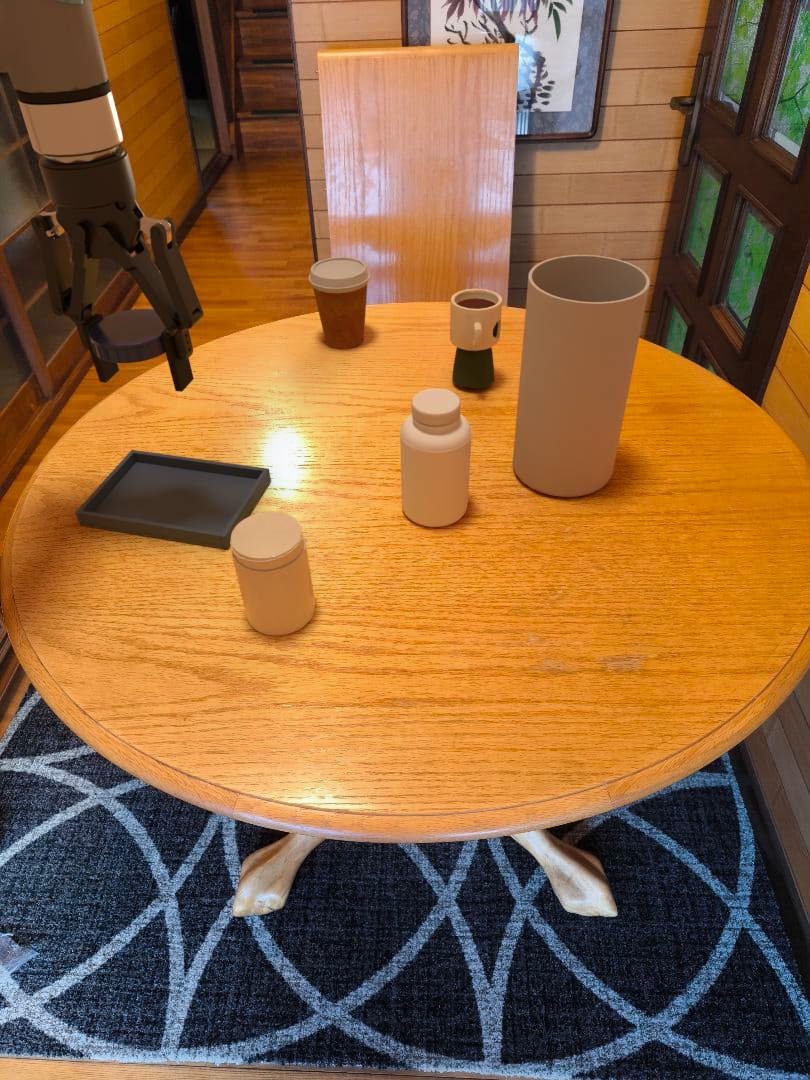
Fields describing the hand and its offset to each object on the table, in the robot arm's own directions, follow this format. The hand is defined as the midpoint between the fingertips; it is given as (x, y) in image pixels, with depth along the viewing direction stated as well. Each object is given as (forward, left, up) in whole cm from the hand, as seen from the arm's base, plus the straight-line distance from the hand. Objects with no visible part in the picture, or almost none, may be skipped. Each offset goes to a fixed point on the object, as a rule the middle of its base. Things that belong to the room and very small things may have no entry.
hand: (146, 380), depth 82 cm
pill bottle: (+30, +7, -18) cm, 36 cm away
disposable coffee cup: (+6, +46, -18) cm, 49 cm away
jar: (+18, -13, -17) cm, 29 cm away
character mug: (+29, +37, -18) cm, 50 cm away
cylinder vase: (+44, +18, -18) cm, 51 cm away
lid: (0, 0, +6) cm, 6 cm away
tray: (-1, +1, -17) cm, 18 cm away
